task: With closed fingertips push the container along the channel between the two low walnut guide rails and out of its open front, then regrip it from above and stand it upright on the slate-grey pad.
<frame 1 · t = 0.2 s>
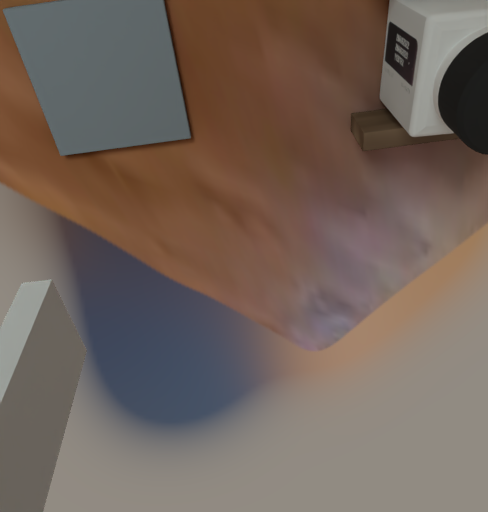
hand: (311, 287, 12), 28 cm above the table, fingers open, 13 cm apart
container: (431, 44, 35), on the table
pad: (106, 77, 35), on the table
rack: (452, 29, 35), on the table
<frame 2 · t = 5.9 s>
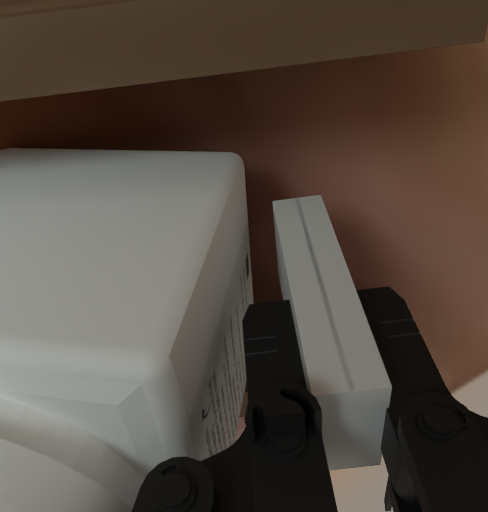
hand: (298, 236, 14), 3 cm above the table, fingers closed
container: (145, 244, 16), point 1 cm above the table, touching gripper
rack: (180, 207, 16), on the table
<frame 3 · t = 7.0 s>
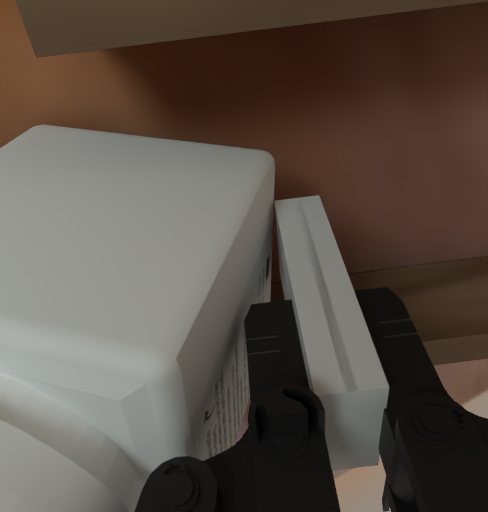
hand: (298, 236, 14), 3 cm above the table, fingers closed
container: (167, 234, 16), point 1 cm above the table, touching gripper
rack: (339, 160, 16), on the table
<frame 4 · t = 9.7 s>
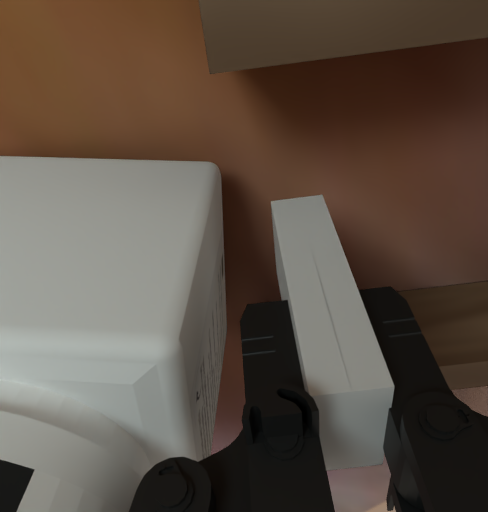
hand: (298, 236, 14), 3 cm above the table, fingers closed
container: (122, 248, 17), on the table
rack: (445, 172, 16), on the table
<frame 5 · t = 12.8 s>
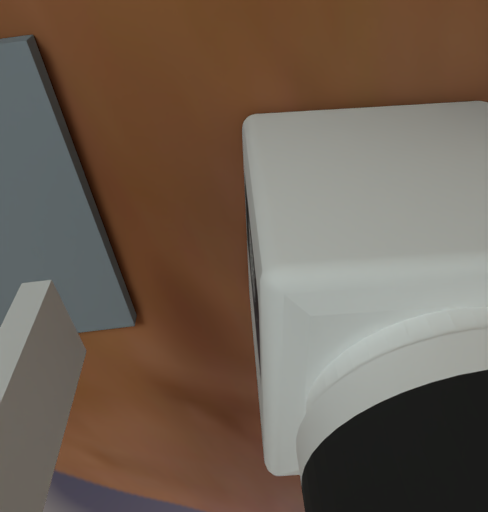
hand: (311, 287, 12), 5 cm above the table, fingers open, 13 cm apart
container: (351, 205, 17), on the table
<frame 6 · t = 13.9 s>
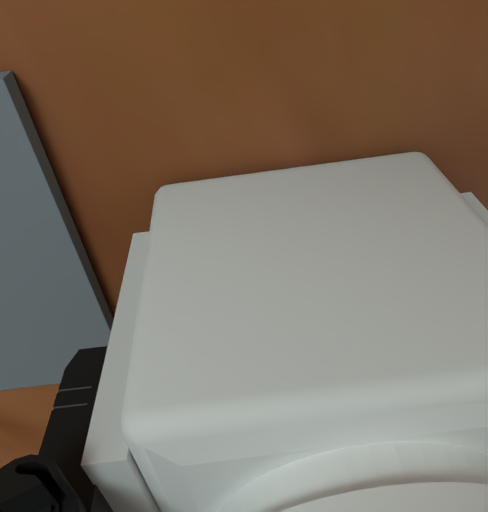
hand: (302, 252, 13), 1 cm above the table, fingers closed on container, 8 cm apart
container: (293, 264, 15), on the table, touching gripper
when the fingers open (3 cm above the table, at t = 18.8 s): container drops 1 cm, resting on pad.
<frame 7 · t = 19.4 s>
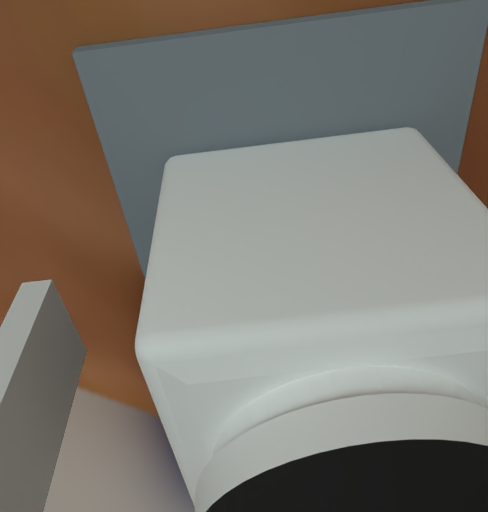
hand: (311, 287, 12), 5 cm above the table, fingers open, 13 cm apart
container: (293, 236, 16), resting on pad
pad: (287, 195, 16), on the table
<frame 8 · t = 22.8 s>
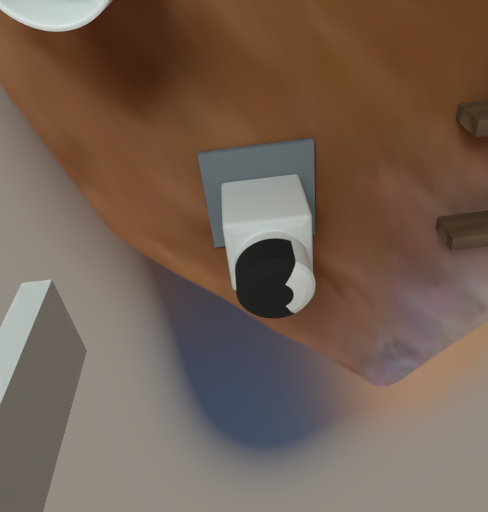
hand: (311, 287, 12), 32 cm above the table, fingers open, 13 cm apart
container: (262, 209, 47), resting on pad
pad: (260, 195, 47), on the table
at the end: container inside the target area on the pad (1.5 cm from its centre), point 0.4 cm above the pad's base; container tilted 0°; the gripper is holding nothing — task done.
